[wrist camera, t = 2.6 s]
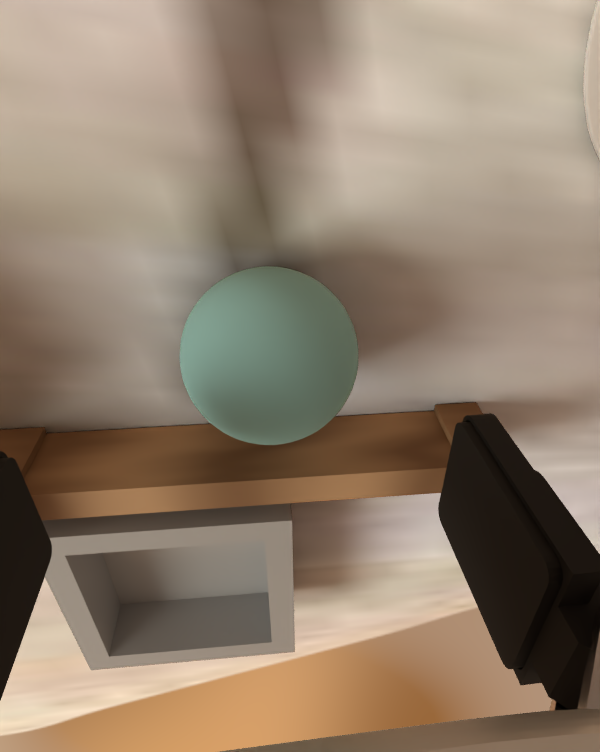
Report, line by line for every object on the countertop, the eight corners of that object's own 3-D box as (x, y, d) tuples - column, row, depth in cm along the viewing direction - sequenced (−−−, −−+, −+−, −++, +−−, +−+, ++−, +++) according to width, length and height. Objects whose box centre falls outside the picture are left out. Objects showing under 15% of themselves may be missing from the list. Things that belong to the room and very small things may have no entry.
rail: (476, 402, 19) (529, 488, 15) (467, 438, 20) (515, 526, 16) (-2, 429, 18) (-66, 530, 14) (15, 466, 19) (-41, 568, 15)
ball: (346, 237, 15) (384, 314, 11) (340, 374, 18) (368, 477, 14) (178, 243, 15) (151, 324, 11) (198, 382, 17) (183, 489, 13)
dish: (286, 460, 20) (292, 520, 17) (290, 591, 25) (294, 651, 23) (54, 475, 19) (26, 539, 17) (106, 605, 24) (90, 670, 22)
